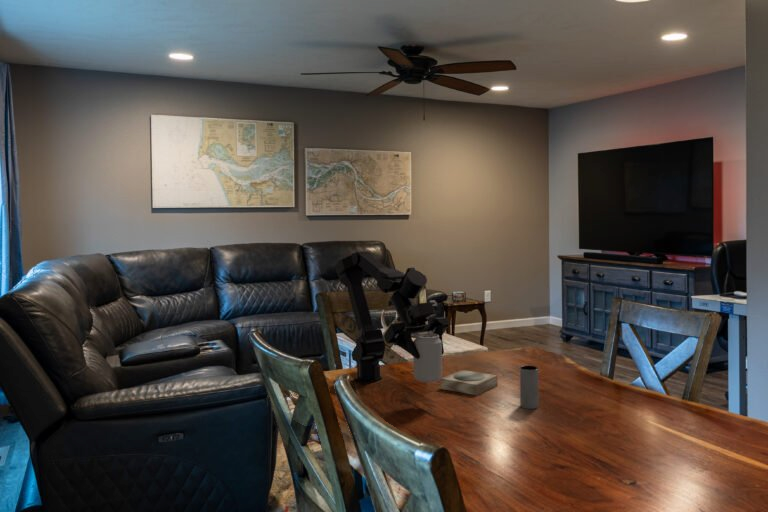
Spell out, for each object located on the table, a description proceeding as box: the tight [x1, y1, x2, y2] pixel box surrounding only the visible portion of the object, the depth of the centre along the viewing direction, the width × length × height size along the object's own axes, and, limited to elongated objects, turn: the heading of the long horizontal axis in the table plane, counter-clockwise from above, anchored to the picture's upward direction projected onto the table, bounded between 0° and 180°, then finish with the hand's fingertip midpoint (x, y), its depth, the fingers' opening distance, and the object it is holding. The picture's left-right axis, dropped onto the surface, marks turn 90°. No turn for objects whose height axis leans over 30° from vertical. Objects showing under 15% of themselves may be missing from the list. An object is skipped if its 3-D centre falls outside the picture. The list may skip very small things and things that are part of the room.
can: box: [413, 332, 443, 383], centre depth 163 cm, size 8×8×12 cm
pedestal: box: [440, 369, 498, 396], centre depth 179 cm, size 12×12×3 cm
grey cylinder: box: [519, 365, 539, 410], centre depth 160 cm, size 4×4×10 cm
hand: (430, 355), depth 162 cm, fingers closed on can, 7 cm apart
